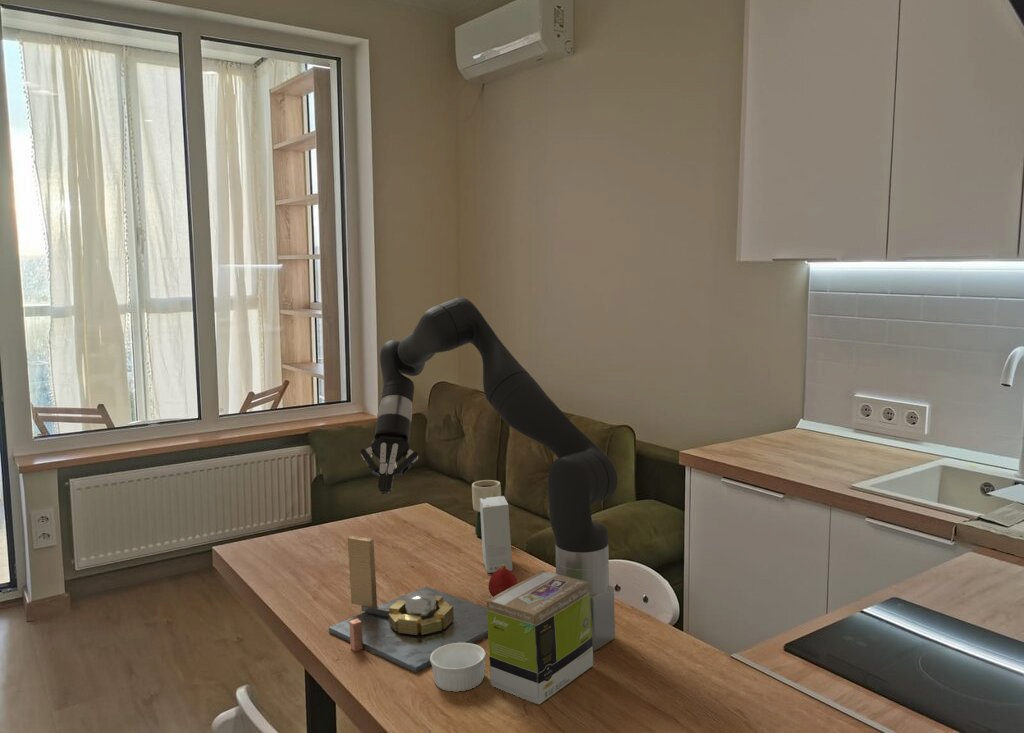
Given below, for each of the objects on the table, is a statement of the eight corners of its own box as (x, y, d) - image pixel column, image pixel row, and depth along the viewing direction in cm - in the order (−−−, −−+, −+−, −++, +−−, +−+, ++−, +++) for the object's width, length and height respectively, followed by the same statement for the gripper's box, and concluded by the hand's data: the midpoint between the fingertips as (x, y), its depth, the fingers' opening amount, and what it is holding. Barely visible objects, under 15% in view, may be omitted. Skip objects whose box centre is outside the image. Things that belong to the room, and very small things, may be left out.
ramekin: (436, 699, 124) (435, 672, 123) (426, 671, 132) (425, 646, 132) (492, 689, 126) (491, 663, 126) (479, 663, 135) (478, 638, 134)
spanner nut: (466, 618, 149) (463, 545, 147) (418, 641, 140) (414, 563, 138) (393, 590, 163) (389, 523, 161) (345, 610, 154) (341, 539, 152)
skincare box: (512, 571, 174) (510, 505, 172) (485, 574, 173) (482, 507, 172) (507, 558, 182) (505, 494, 181) (481, 560, 182) (478, 496, 180)
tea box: (545, 650, 138) (543, 567, 136) (594, 667, 132) (593, 580, 130) (488, 687, 127) (484, 597, 125) (539, 707, 120) (536, 613, 118)
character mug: (513, 536, 197) (511, 484, 195) (490, 543, 192) (488, 490, 191) (485, 526, 205) (484, 476, 204) (463, 533, 201) (461, 482, 199)
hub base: (513, 622, 149) (512, 591, 148) (408, 677, 130) (406, 642, 130) (426, 590, 165) (425, 562, 164) (321, 635, 146) (319, 604, 146)
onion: (483, 607, 156) (482, 567, 155) (498, 596, 161) (496, 557, 160) (510, 612, 154) (508, 572, 153) (523, 600, 159) (522, 561, 158)
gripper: (424, 430, 182) (416, 501, 172) (366, 426, 182) (354, 498, 172) (423, 413, 175) (414, 487, 166) (362, 410, 175) (350, 483, 166)
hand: (384, 492), depth 169 cm, fingers closed
